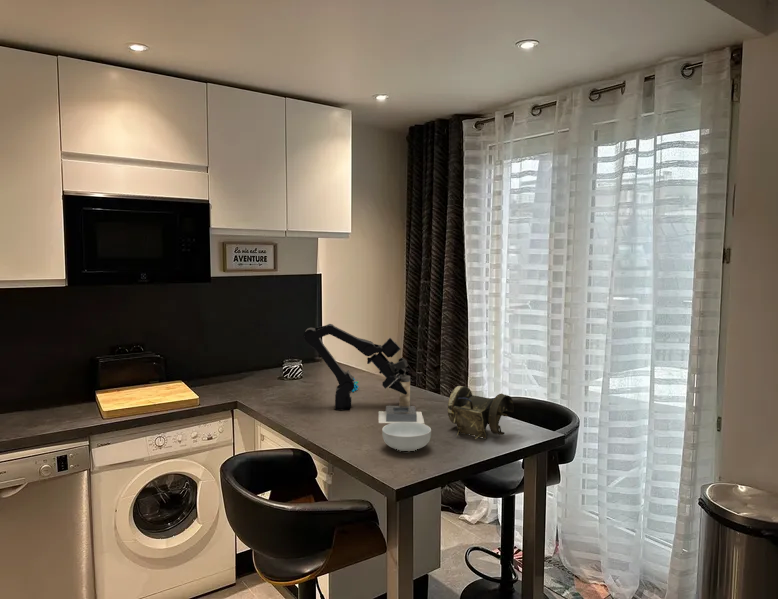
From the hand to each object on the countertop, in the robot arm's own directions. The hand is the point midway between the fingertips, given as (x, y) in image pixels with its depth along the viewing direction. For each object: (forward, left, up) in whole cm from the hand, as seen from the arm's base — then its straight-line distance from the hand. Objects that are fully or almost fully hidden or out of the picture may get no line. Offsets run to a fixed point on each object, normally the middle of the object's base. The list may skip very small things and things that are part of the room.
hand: (407, 392), depth 234 cm
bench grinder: (+24, -29, -8) cm, 38 cm away
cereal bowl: (-3, -45, -8) cm, 45 cm away
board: (-3, -11, -8) cm, 14 cm away
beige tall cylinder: (-1, 0, -8) cm, 8 cm away
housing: (-3, -11, -7) cm, 13 cm away
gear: (-26, +34, -8) cm, 43 cm away
